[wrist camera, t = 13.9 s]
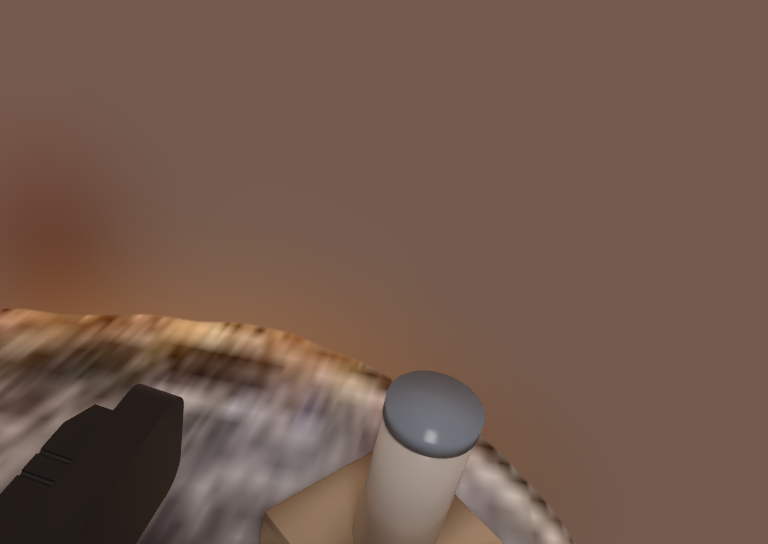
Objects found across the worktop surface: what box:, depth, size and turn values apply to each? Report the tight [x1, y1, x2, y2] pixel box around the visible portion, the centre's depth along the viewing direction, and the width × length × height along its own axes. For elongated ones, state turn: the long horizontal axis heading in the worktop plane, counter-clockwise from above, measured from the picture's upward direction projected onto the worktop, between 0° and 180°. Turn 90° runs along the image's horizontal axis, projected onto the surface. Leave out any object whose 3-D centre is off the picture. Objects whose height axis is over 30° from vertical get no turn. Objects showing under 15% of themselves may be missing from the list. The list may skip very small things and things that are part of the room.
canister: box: [353, 371, 485, 544], centre depth 39 cm, size 5×5×11 cm
